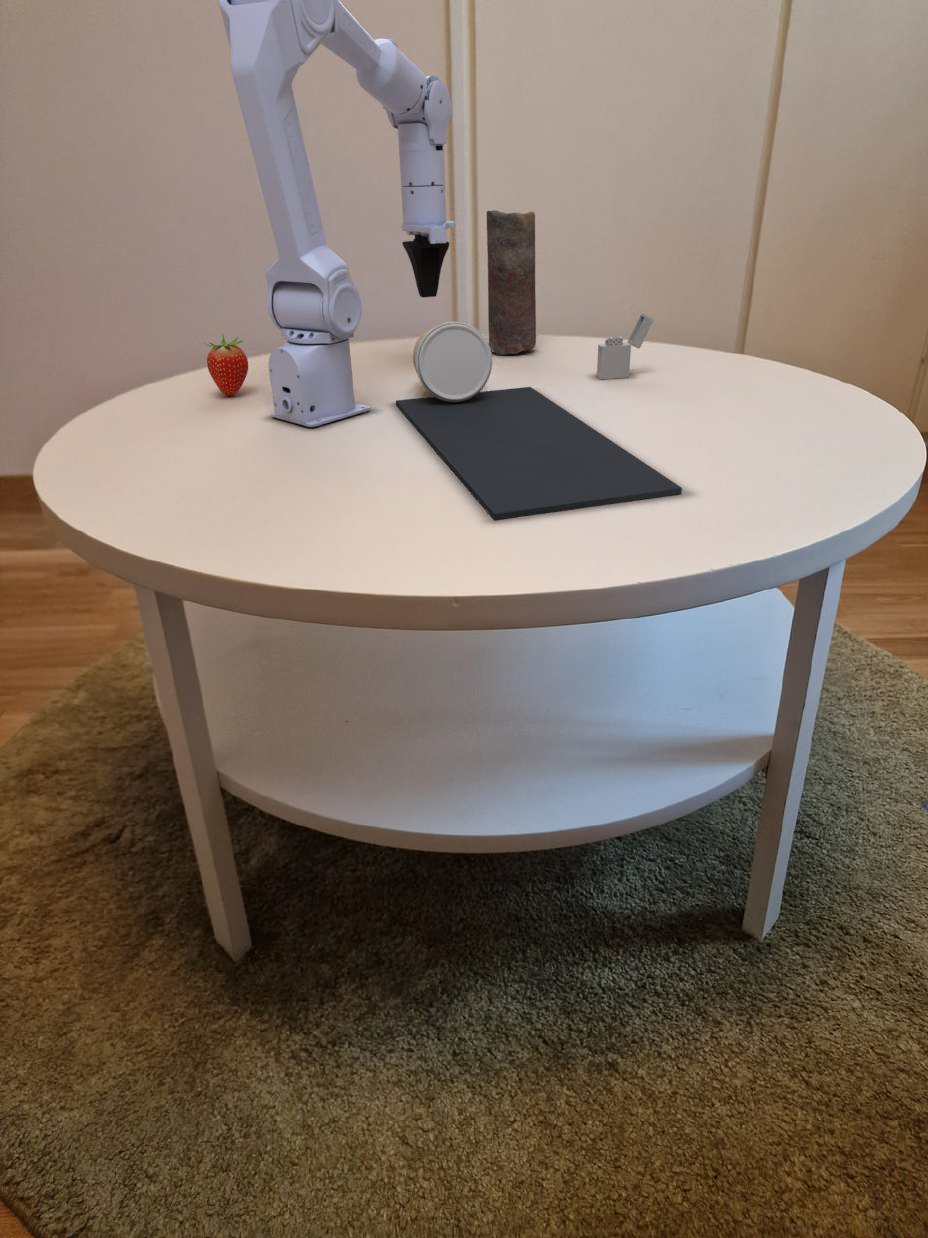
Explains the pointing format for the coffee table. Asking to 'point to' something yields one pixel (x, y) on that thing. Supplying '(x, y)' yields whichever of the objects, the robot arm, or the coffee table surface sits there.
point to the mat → (530, 454)
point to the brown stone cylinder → (511, 282)
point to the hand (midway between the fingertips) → (428, 296)
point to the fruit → (227, 366)
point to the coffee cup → (453, 361)
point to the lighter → (621, 351)
